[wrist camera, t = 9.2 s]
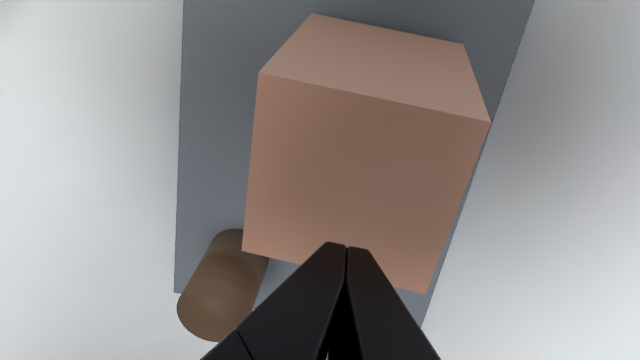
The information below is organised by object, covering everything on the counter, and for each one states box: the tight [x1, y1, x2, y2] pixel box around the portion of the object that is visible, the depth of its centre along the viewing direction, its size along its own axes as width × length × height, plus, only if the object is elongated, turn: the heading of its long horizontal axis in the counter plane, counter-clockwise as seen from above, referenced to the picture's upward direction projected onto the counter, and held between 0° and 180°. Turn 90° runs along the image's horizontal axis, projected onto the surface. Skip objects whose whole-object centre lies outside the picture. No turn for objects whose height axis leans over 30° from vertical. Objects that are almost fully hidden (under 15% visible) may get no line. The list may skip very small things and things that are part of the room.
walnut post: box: [177, 229, 269, 342], centre depth 20 cm, size 3×3×4 cm
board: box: [174, 0, 535, 328], centre depth 20 cm, size 16×12×1 cm
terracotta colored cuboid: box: [242, 13, 491, 294], centre depth 15 cm, size 5×5×7 cm
